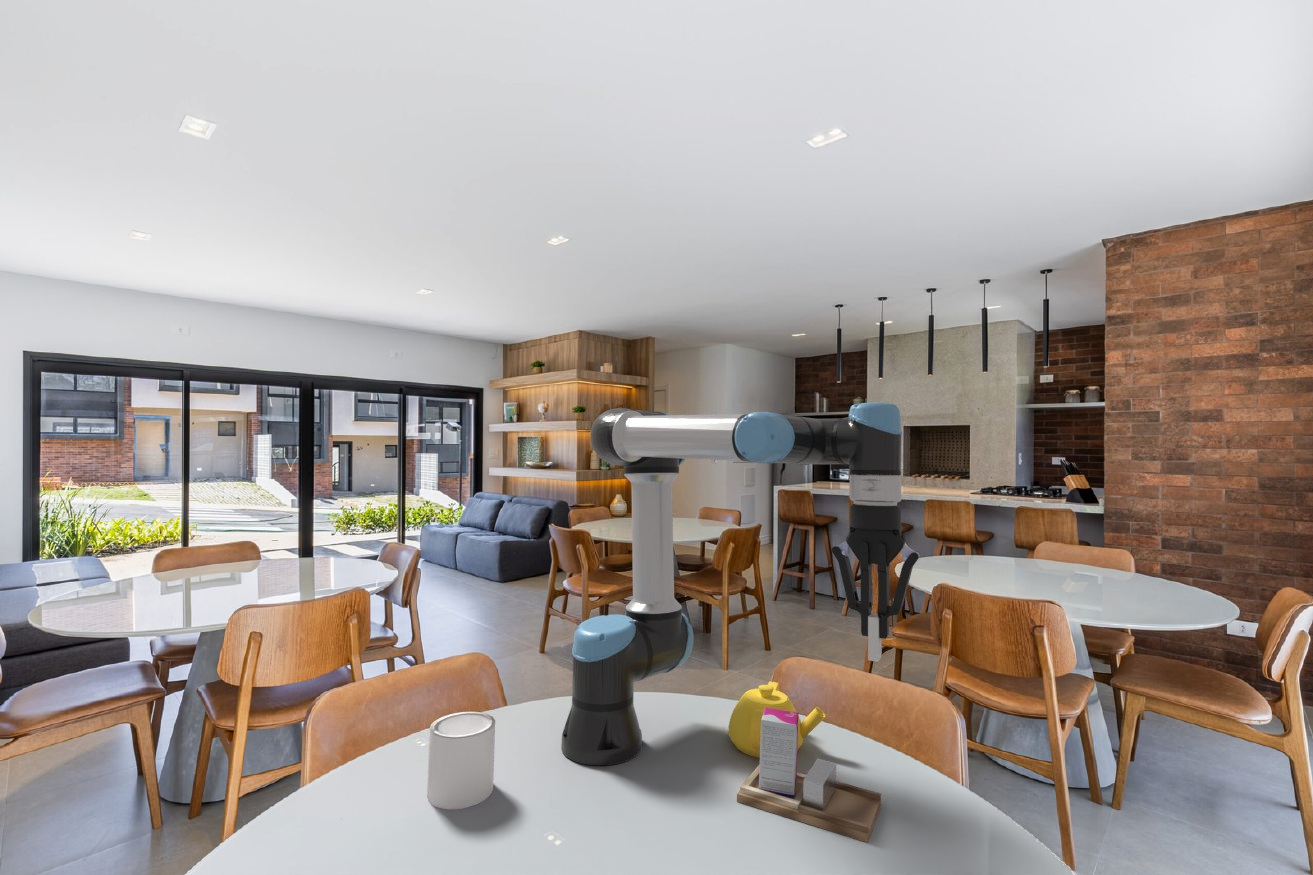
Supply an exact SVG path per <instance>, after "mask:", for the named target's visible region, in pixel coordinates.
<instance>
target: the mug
mask: <svg viewBox="0 0 1313 875" xmlns="http://www.w3.org/2000/svg"><path fill="white" fill-rule="evenodd" d="M495 736H496V719H495V718H494V716H492V715H490V714H488V713H485V712H481V711H480V712H479V711H462V712H461V711H460V712H455V713H451V714H446V715H443V716H441V717H439V718H437V719H436V720H434V721H433V722H432V723H431V724H430V726H429V730H428V755H427V757H428V758H427V760H428V761H427V784H426V785H427V788H426V790H427V791H426V798H427V801H428V803H429V804H430V805H431V806H433V807H436V808H438V809H442V810H461V809H465V808H471V807H473V806H475V805H478V804H480V803H483V802H484V801H485V800H487V799H488V798H490V795H491V794H492V793H493V791H494V775H495V774H494V772H495V741H496V740H495V739H496V738H495Z"/></svg>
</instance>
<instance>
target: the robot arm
mask: <svg viewBox="0 0 1313 875" xmlns="http://www.w3.org/2000/svg"><path fill="white" fill-rule="evenodd" d="M902 435H903V431H902V421H901V410H900V408H899V406H897V405H896V404H894V403H889V402H862V403H855V404H853V405H851V406H850V408H849V412H848V416H847V417H842V418H813V417H812V418H811V417H804V416H799V415H798V416H796V415H789V414H788V415H787V414H781V413H777V412H774V411H755V412H753V411H752V412H750V413H732V414H731V413H723V414H676V415H675V414H673V415H672V414H671V413H665V412H662V411H655V410H644V409H633V408H632V409H631V408H626V407H625V408H624V407H617V408H610V409H608V410H606V411H604V412H602V413H601V414H599V416H597V418H595V420H594V422H593V423H592V426H591V428H590V436H589V438H590V444H591V447H592V450H593V451H594V453H595V454H596V455H597V456H598V457H599V459H601V460H602V461H604V462H606V463H608V464H611V465H615V466H622V467H623V468H624V469H623V474H624V477H625V478H626V479H627V480H628V481H629V482H630V484H631V532H632V533H631V535H632V536H631V537H632V538H631V539H632V540H631V542H632V543H631V544H632V547H631V548H632V549H631V550H632V554H631V555H632V556H631V557H632V599H631V600H630V601H629V603H627V604H626V606H625V615H624V614H607V615H605V614H603V615H597V616H593V617H590V618H588V619H586V620H584V621H582V622H581V623H579V624H578V626H577V627H576V628H575V631H574V633H573V645H572V649H571V653H572V683H571V684H572V689H571V690H572V691H571V707H570V710H569V713H568V716H567V719H566V721H565V724H564V727H563V730H562V733H561V744H560V745H561V753H562V754H563V755H564V756H565V757H566V758H568V759H570V761H573V762H576V763H579V764H583V765H587V766H588V765H589V766H611V765H616V764H617V765H618V764H621V763H623V762H627V761H630V760H632V759H633V758H635V757H636V756H637V755H638V754H639V753H640V752H641V750H642V748H643V734H642V729H641V728H640V724H639V720H638V717H637V713H636V709H635V705H634V691H635V690H634V688H635V686H634V685H635V683H637V682H641V681H643V680H646V679H649V678H652V677H655V676H658V675H662V674H667V673H670V672H671V671H673V670H674V669H676V668H679V667H680V666H682V665H683V664H685V662H686V661H688V659H689V658H690V656H691V654H692V652H693V647H694V637H695V636H694V631H693V629H694V628H693V626H692V624H691V623H689V618H688V617H687V616H686V615H685V613H683V612H682V611H683V610H682V609H683V608H682V607H683V606H682V605H681V603H680V602H678V600H677V599H676V598H675V581H674V580H675V576H674V574H675V571H674V569H675V567H674V523H673V522H674V518H673V517H674V516H673V515H674V514H673V506H674V505H673V483H674V481H675V480H676V479H677V478H678V476H680V465H681V464H683V463H684V462H685V460H706V461H707V460H708V461H731V462H734V461H735V462H748V463H749V462H750V463H756V464H757V463H758V464H796V465H799V466H801V465H802V466H803V465H805V466H809V465H849V500H850V501H853V503H851V504H850V506H849V522H848V523H849V528H848V529H849V530H848V533H847V535H846V537H845V541H843V542H842V543H840V544H837V545H835V546H833V547H832V548H831V553H832V554H833V556H834V558H835V559H836V561H837V562H838V566H839V570H840V575H841V579H842V583H843V587H844V588H843V589H844V592H845V596H846V601H847V605H848V607H849V609H850V610H854V611H856V612H858V613H859V615H860V633H861V635H862V636H863V637H867V661H870V662H876V663H879V662H880V660H881V659H882V654H883V652H882V639H883V640H887V638H888V636H889V634H890V617H892V616H897V615H899V614H900V612H901V611H902V610H903V605H904V603H905V597H906V595H907V591H908V586H909V584H910V583H909V582H910V579H911V575H912V572H913V568H914V565H915V564H916V563H917V561H918V560H919V559H920V558H921V552H920V551H918V550H914V549H912V548H911V547H909V546H908V545H906V541H905V540H906V539H904V537H903V533H902V507H901V506H900V505H898V503H900V502H901V501H902V471H901V468H902V467H901V466H902ZM850 550H851V551H852V553H853V554H854V556H855V557H856V558H857V560H858V561H859V570H860V598H859V595H858V590H857V585H856V582H855V578H854V577H855V576H854V574H853V570H852V565H851V560H850V557H849V556H850V554H851V552H850ZM900 553H901V554H902V555H901V560H902V561H903V564H902V566H901V568H900V569H901V570H900V574H899V576H898V582H897V586H896V590H895V593H894V597H893V601H892V604H891V605H890V567H891V563H892V562H893V561H894V560H895V558H896V557H897V556H898V555H899V554H900ZM873 565H876V566H877V573H878V574H877V576H878V577H877V583H878V584H877V588H878V590H877V592H878V593H877V595H878V596H877V598H878V599H877V602H878V603H877V608H878V609H877V610H878V611H877V612H878V613H875V612H873V613H872V611H873V607H872V605H873V604H872V602H873V601H872V600H873V597H872V596H873V595H872V594H873V592H872V591H873V590H872V588H873V584H872V583H873V582H872V581H873V580H872V579H873Z"/></svg>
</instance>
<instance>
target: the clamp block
mask: <svg viewBox="0 0 1313 875" xmlns="http://www.w3.org/2000/svg"><path fill="white" fill-rule="evenodd" d="M805 775H806V777H805V778H804V782H803V784H802V793H803V806H807V807H810V808H813V809H817V810H820V811H823V812H824V810H825V808H826V806H827V804H828V802H829V800H830V799H831V797H832V795H833V793H834V791H835V789H836V781H837V763H836V762H834V761H830V760H825V759H821V758H817V759H816V760H815V762H814V763H813V765H812V766H811V768H810V769H809V771H808V772H807V774H805Z"/></svg>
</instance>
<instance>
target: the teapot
mask: <svg viewBox="0 0 1313 875" xmlns="http://www.w3.org/2000/svg"><path fill="white" fill-rule="evenodd" d="M765 708H771V709H777V710H784V711H791V712H797V709H796V708H795V706H794V705H793V703H792V701H791V699H790V698H789V696H788V695H787V694H786V693H784V692H782V691H780V684H779V682H776V681H770V680H769V681H768V683H767V684H760V685H758V688H751V689H748V690H747V691H745V692H744V694H742V696H741V697H740V699H739V700H738V702H737V703H736V704H735V707H734V708H733V710H732V713H731V715H730V718H729V721H728V722H729V724H728V731H727V732H728V736H729V739H730V740H731V742H732V744H733V745H734V746H735V747H736V748H737V750H739V751H741V752H742V753H744V754H745V755H748V756H751V757H754V758H757V759H758V758H759V759H760V740H761V719H762V716H763V713H764V710H765ZM797 713H798V712H797ZM826 716H827V715H826V714H825V712H824V711H823V710H822V709H821V708H820V707H818V706H816V707H815V708H814V709H813V710H812V711H811V712H810V713H809V714H808V715H807V716H806V718H805V719H804V720H802V721H801V718H800V716H799V715H798V750H799V749H800V748H801V747H802V745H803V743H804V740H805V738H806V737H807V736H808V735H809V734H810V733H811V732H812V731H813V730H814V729H815V728H816V727H817V726H818V725H819V724H820V723H822V722H823V720H824V719H826V718H827V717H826Z"/></svg>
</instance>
